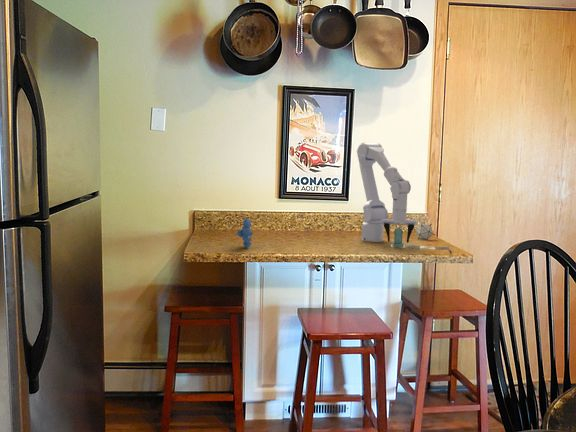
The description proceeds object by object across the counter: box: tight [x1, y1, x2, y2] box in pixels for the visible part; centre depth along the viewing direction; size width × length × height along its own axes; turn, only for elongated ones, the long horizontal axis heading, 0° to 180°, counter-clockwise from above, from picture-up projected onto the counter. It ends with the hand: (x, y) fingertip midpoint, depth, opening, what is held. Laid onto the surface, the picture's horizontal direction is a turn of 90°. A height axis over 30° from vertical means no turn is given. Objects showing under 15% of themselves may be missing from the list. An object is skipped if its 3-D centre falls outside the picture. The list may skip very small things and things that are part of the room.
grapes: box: [236, 217, 254, 249], centre depth 218 cm, size 12×7×12 cm, turn 6°
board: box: [390, 244, 452, 254], centre depth 221 cm, size 24×10×1 cm, turn 79°
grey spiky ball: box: [413, 222, 436, 241], centre depth 242 cm, size 9×8×10 cm
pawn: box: [392, 227, 405, 248], centre depth 222 cm, size 5×5×8 cm
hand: (398, 241), depth 222 cm, fingers open, 7 cm apart
